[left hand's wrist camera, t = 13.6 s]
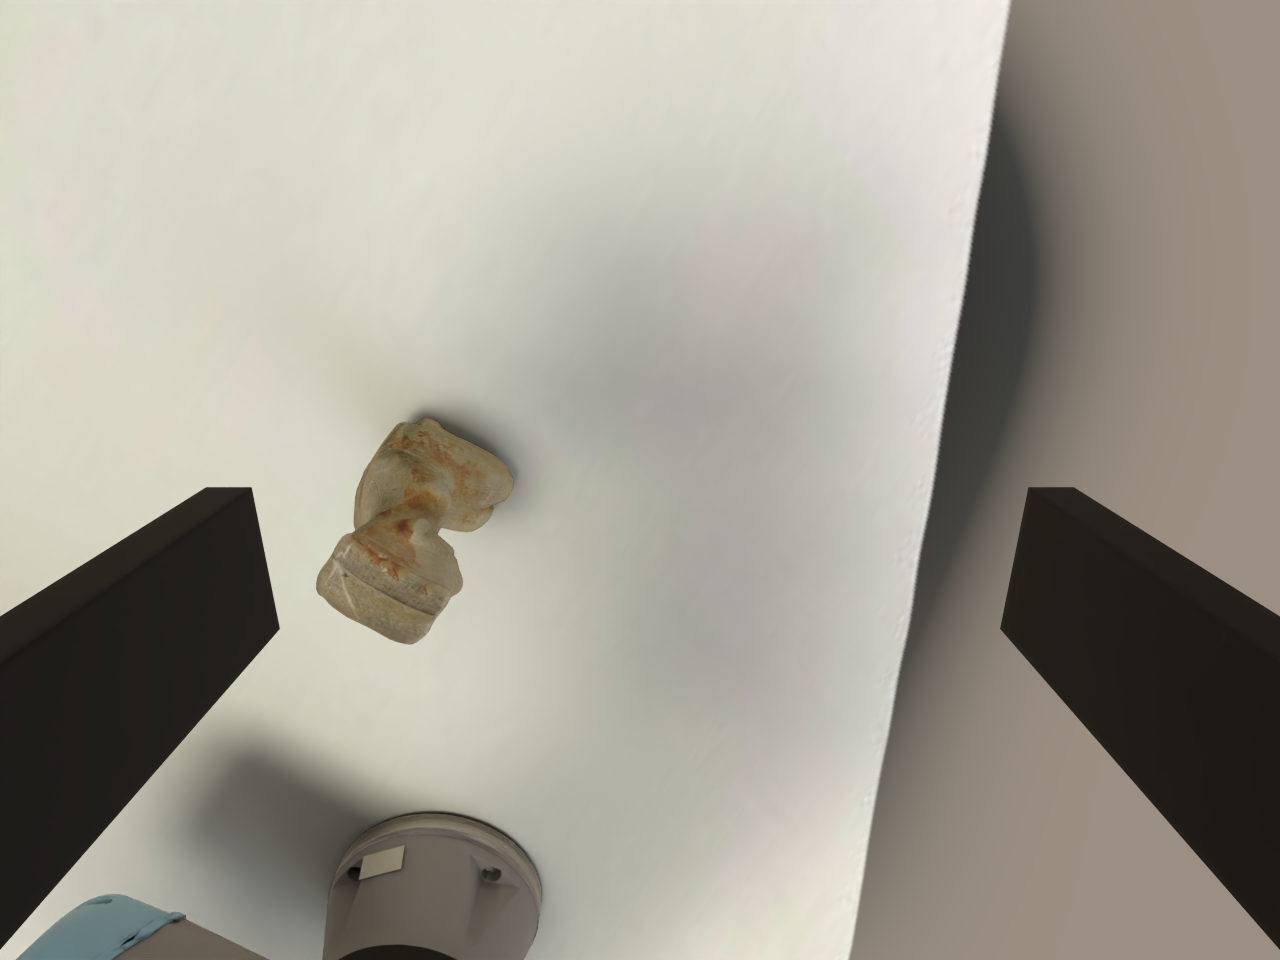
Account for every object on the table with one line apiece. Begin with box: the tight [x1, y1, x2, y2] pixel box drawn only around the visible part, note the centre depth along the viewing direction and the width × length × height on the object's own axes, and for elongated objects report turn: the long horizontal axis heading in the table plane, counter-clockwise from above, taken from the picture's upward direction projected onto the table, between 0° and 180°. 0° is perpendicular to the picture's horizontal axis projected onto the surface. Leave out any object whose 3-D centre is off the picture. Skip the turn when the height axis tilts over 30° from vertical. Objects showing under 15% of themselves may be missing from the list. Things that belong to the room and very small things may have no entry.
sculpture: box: [316, 418, 513, 644], centre depth 35 cm, size 6×7×15 cm
